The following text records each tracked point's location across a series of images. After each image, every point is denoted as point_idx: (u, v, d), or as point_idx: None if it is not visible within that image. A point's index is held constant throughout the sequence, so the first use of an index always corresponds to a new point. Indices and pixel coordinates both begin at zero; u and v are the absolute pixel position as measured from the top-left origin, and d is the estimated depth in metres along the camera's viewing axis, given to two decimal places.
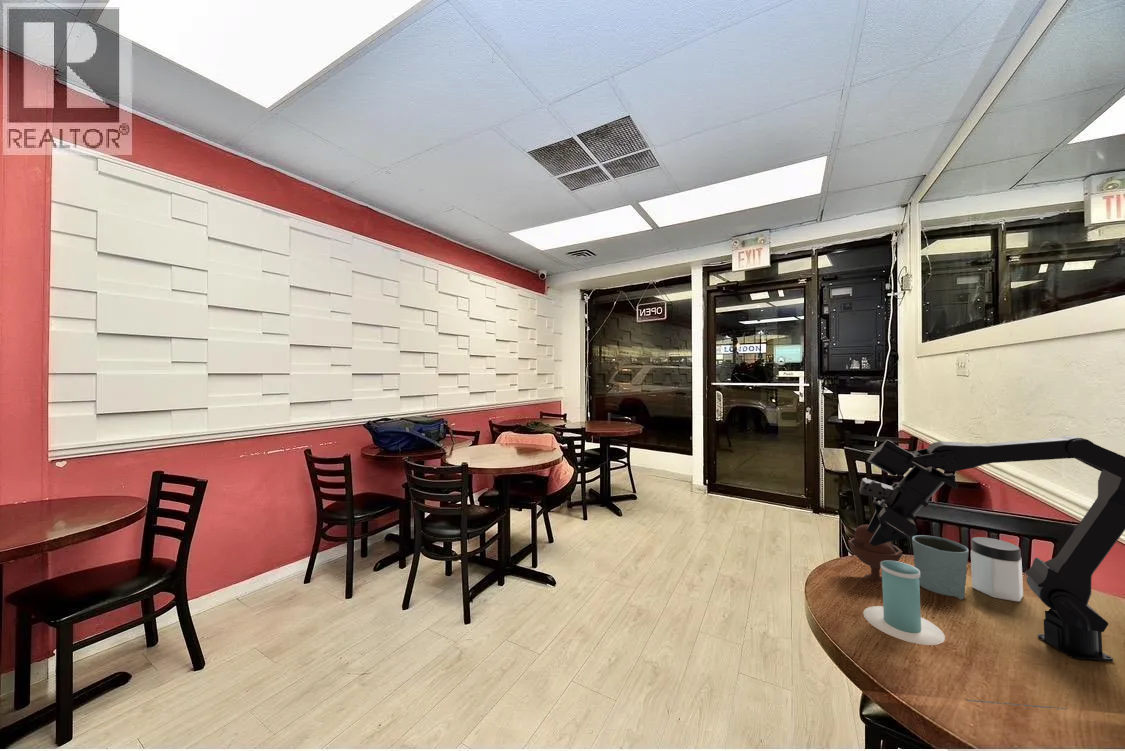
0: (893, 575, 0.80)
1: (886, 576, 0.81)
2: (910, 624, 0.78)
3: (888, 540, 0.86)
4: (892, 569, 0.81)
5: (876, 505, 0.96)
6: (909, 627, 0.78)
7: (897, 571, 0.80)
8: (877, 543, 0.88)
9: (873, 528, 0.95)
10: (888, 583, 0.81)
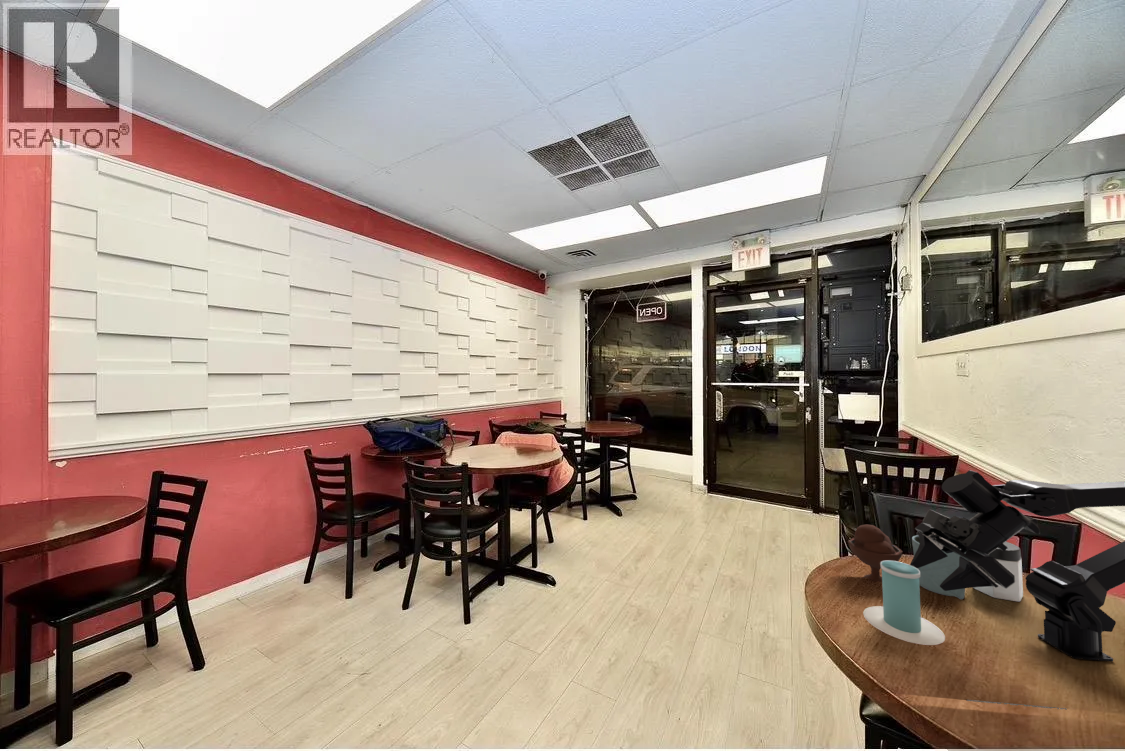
0: (893, 575, 0.80)
1: (886, 576, 0.81)
2: (910, 624, 0.78)
3: (965, 586, 0.74)
4: (892, 569, 0.81)
5: (926, 539, 0.85)
6: (909, 627, 0.78)
7: (897, 571, 0.80)
8: (950, 588, 0.75)
9: (918, 563, 0.84)
10: (888, 583, 0.81)
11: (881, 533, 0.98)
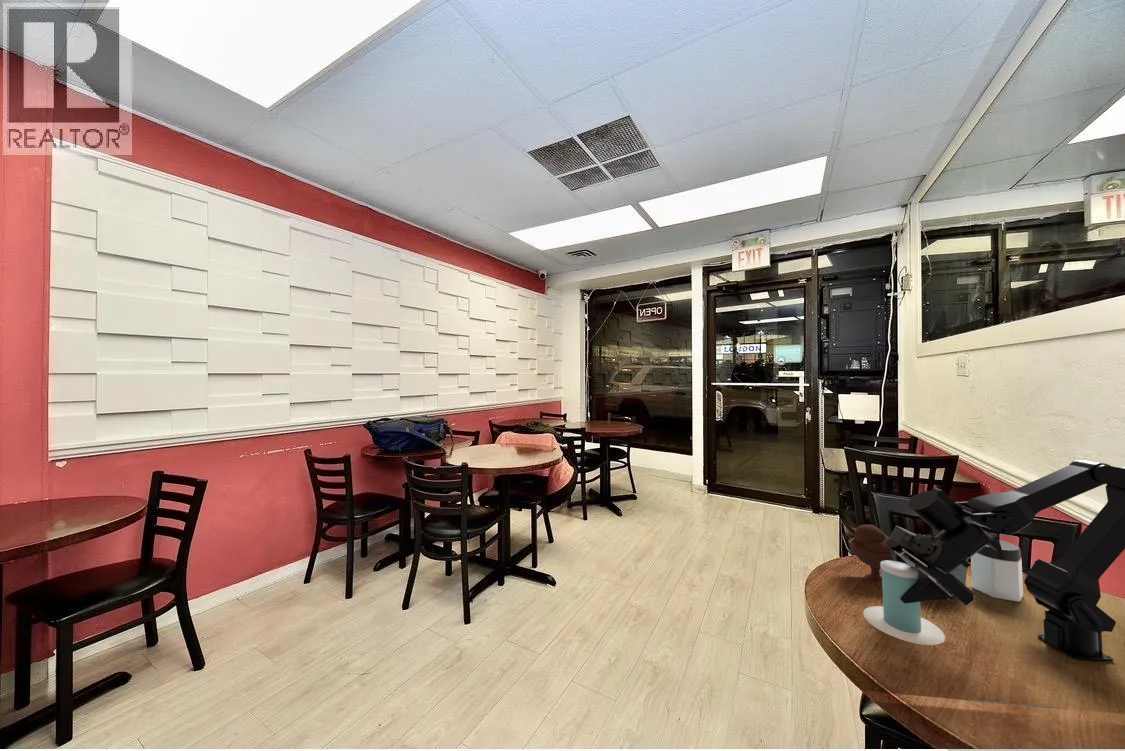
0: (893, 575, 0.80)
1: (886, 576, 0.81)
2: (910, 624, 0.78)
3: (924, 599, 0.77)
4: (892, 569, 0.81)
5: (898, 557, 0.85)
6: (909, 627, 0.78)
7: (897, 571, 0.80)
8: (910, 601, 0.78)
9: None
10: (888, 583, 0.81)
11: (881, 533, 0.98)
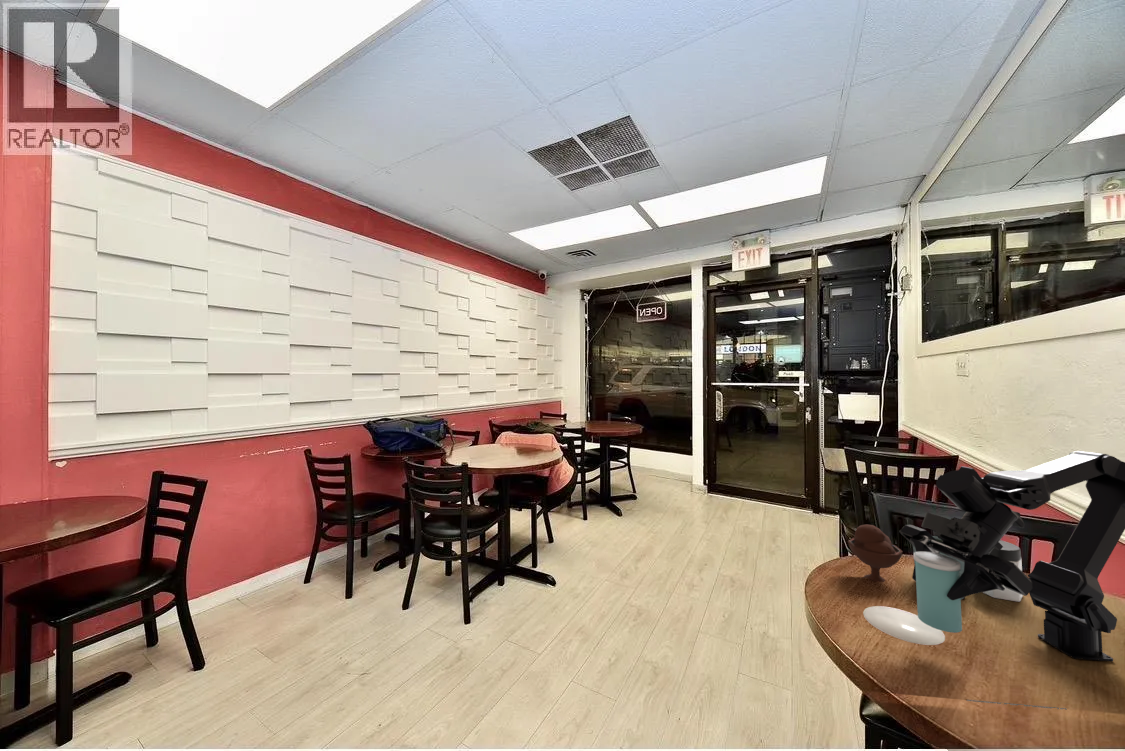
0: (937, 570, 0.70)
1: (927, 572, 0.71)
2: (956, 623, 0.69)
3: (971, 593, 0.68)
4: (933, 562, 0.71)
5: (924, 546, 0.76)
6: (955, 626, 0.69)
7: (940, 564, 0.70)
8: (958, 597, 0.69)
9: None
10: (930, 579, 0.71)
11: (881, 533, 0.98)
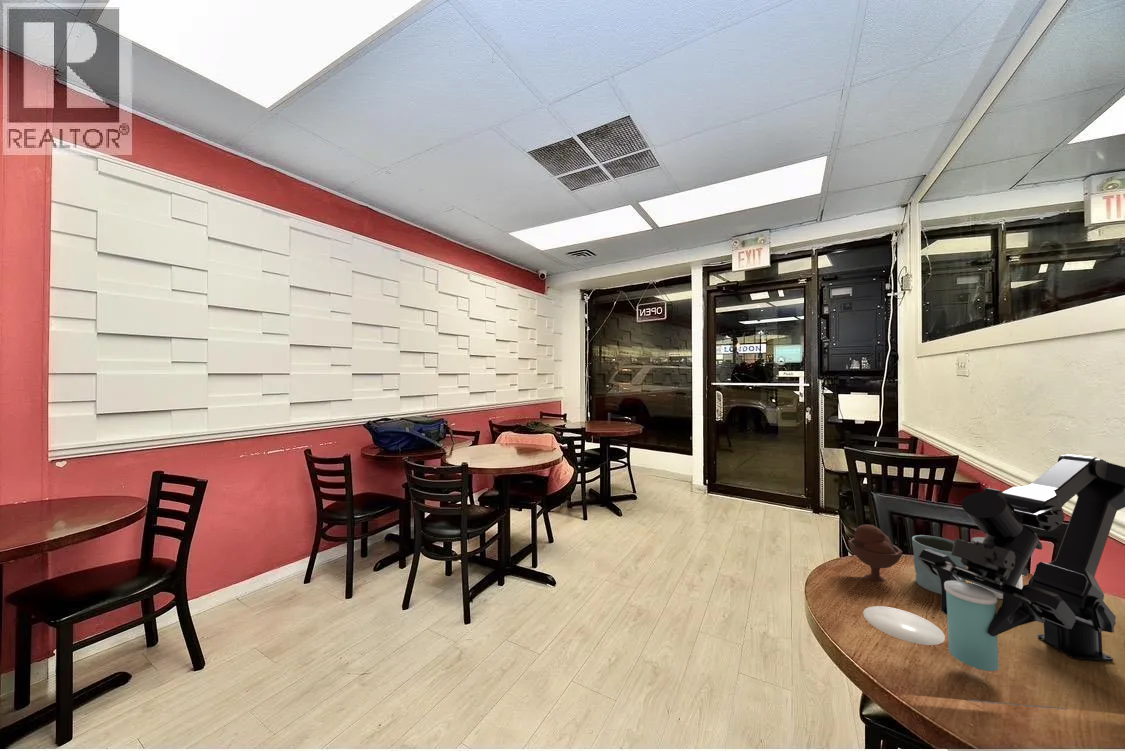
0: (976, 604, 0.65)
1: (964, 606, 0.66)
2: (995, 660, 0.64)
3: (1010, 626, 0.64)
4: (971, 595, 0.66)
5: (950, 574, 0.71)
6: (994, 664, 0.64)
7: (979, 597, 0.65)
8: (998, 632, 0.64)
9: None
10: (968, 614, 0.65)
11: (881, 533, 0.98)
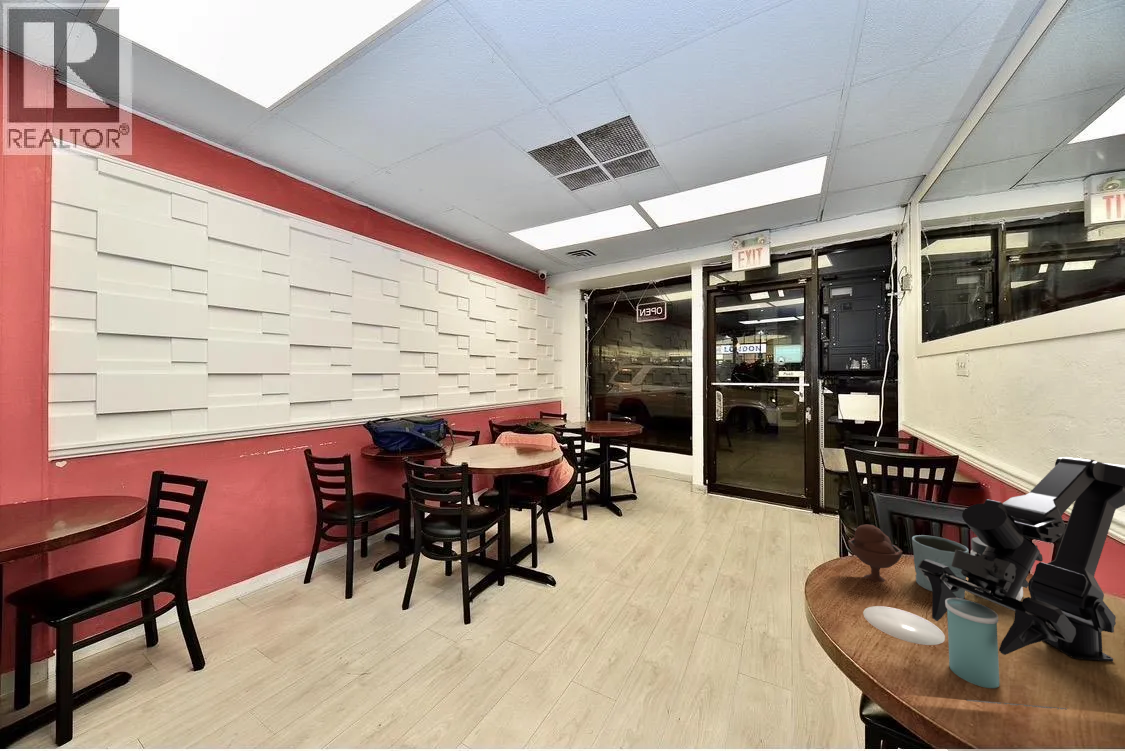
0: (977, 623, 0.65)
1: (965, 624, 0.66)
2: (996, 680, 0.64)
3: (1023, 645, 0.62)
4: (972, 614, 0.65)
5: (941, 582, 0.73)
6: (995, 683, 0.64)
7: (980, 616, 0.65)
8: (1010, 650, 0.62)
9: (938, 614, 0.72)
10: (969, 633, 0.65)
11: (881, 533, 0.98)
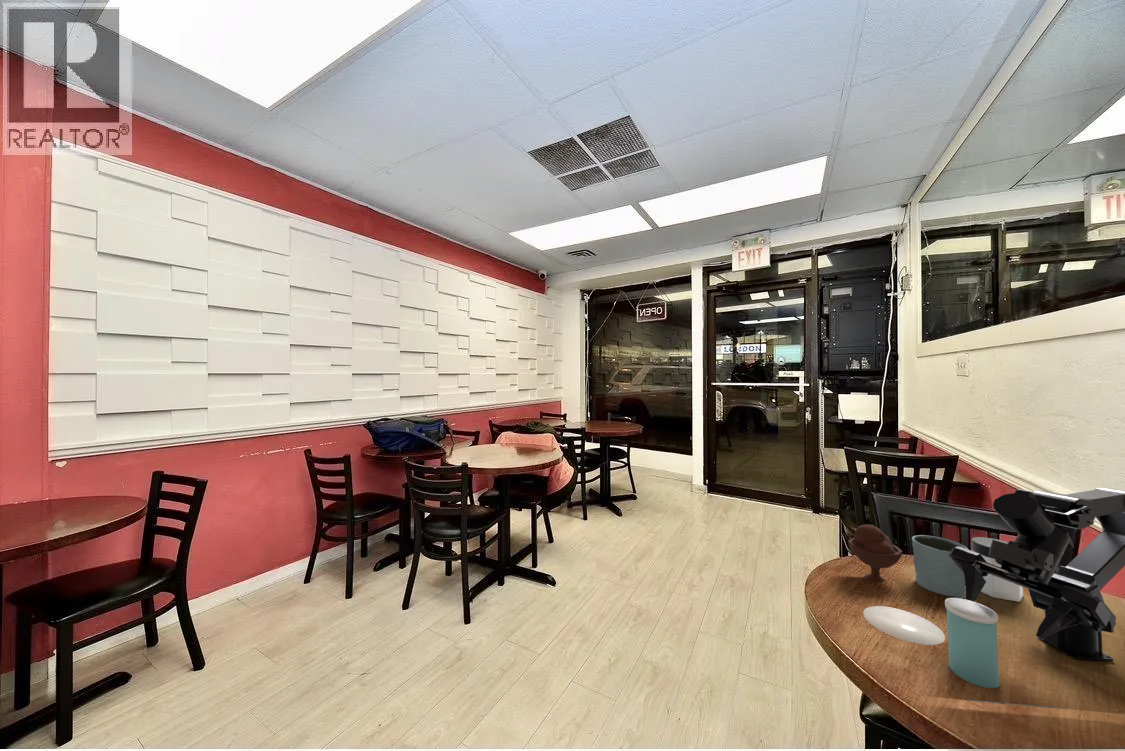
0: (977, 623, 0.65)
1: (965, 625, 0.66)
2: (996, 680, 0.64)
3: (1058, 629, 0.65)
4: (972, 614, 0.65)
5: (974, 569, 0.75)
6: (995, 683, 0.64)
7: (980, 616, 0.65)
8: (1046, 635, 0.65)
9: (971, 599, 0.74)
10: (969, 633, 0.65)
11: (881, 533, 0.98)
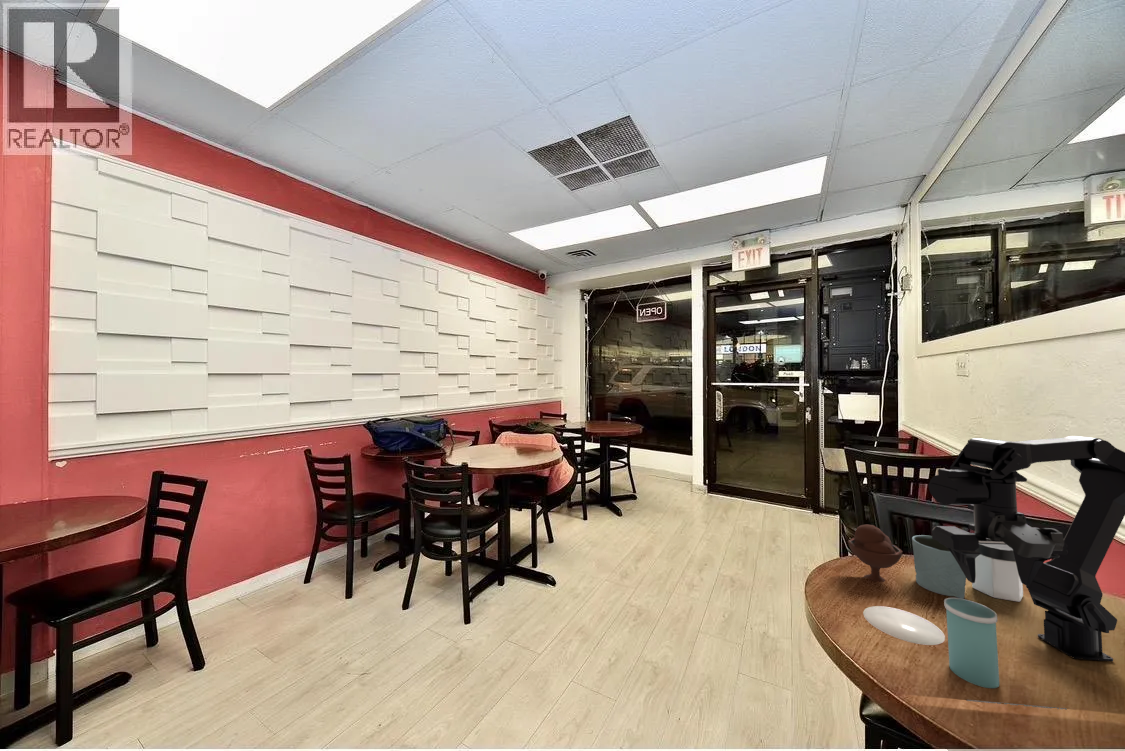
0: (977, 622, 0.65)
1: (965, 624, 0.66)
2: (996, 679, 0.64)
3: None
4: (972, 614, 0.65)
5: None
6: (995, 683, 0.64)
7: (980, 616, 0.65)
8: None
9: None
10: (969, 633, 0.65)
11: (881, 533, 0.98)
